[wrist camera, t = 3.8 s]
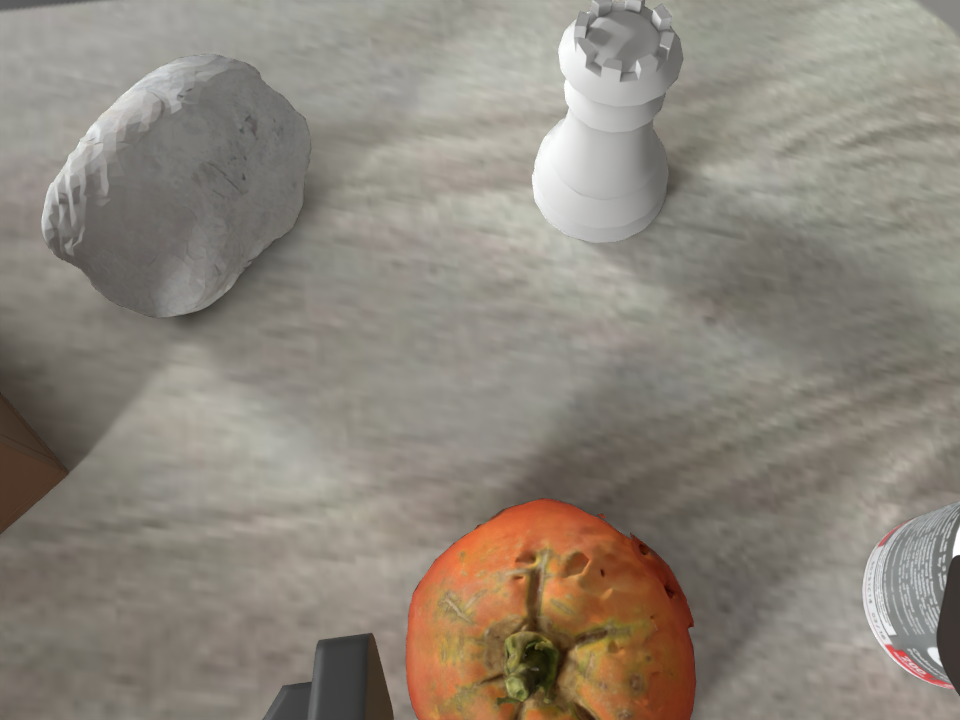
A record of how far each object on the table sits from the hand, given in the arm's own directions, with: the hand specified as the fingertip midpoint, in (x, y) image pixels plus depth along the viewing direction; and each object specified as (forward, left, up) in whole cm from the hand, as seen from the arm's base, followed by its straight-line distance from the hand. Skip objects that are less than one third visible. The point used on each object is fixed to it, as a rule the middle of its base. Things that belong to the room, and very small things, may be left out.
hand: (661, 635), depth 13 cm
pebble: (-1, -19, -14) cm, 23 cm away
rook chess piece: (-11, -10, -14) cm, 20 cm away
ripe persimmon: (+1, -1, -14) cm, 14 cm away
